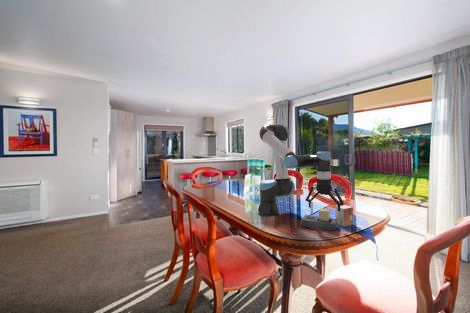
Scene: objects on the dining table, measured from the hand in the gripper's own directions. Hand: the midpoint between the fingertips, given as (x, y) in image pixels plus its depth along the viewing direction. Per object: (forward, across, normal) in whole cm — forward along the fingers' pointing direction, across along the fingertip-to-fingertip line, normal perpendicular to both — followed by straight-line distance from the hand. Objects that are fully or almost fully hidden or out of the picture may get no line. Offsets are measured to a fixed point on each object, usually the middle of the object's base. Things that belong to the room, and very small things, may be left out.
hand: (324, 215), depth 119 cm
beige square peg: (+7, 0, 0) cm, 7 cm away
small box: (+7, +10, +9) cm, 15 cm away
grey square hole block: (+7, -3, 0) cm, 7 cm away
